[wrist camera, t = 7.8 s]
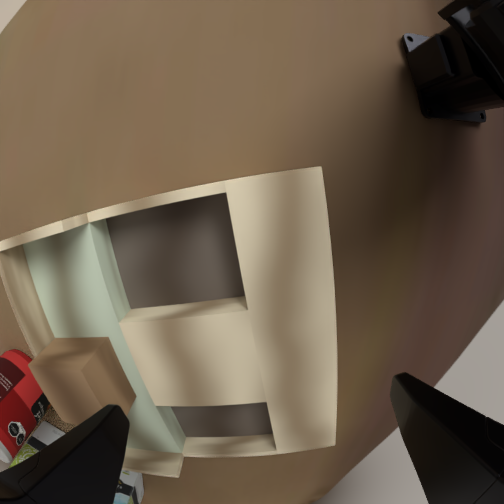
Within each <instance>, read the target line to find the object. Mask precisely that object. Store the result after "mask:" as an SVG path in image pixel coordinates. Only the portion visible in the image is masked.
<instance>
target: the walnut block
mask: <svg viewBox="0 0 504 504" xmlns="http://www.w3.org/2000/svg"><path fill="white" fill-rule="evenodd" d="M28 366H29V368H30V370H31V372H32V374H33V375H34V377H35V379H36V381H37V382H38V384H39V386H40V387H41V389H42V391H43V392H44V394H45V395H46V397H47V399H48V400H49V402H50V403H51V405H52V406H53V408H54V409H55V411H56V412H57V414H58V415H59V416H60V418H61V419H62V421H63V422H65V423H69V424H73V425H79V424H80V423H82V422H83V421H85V420H86V419H88V418H89V417H90V416H92V415H93V414H95V413H96V412H98V411H99V410H100V409H102V408H103V407H105V406H106V405H108V404H117V405H119V406H120V407H121V408H122V410H123V411H124V413H125V415H126V416H127V415H128V413H129V411H130V409H131V407H132V405H133V403H134V401H135V399H136V397H137V396H136V394H135V392H134V390H133V388H132V386H131V384H130V382H129V380H128V378H127V376H126V374H125V372H124V370H123V368H122V366H121V364H120V362H119V360H118V357H117V355H116V353H115V351H114V348H113V346H112V344H111V341H110V339H109V337H82V338H55V339H54V340H53V341H52V342H51V343H50V344H49V345H48V346H47V347H46V348H45V349H43V350H42V351H41V352H40V353H39V354H38V355H37V356H36V357H35V358H34V359H33V360H32V361H31V362H30V363H29V364H28Z"/></svg>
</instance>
